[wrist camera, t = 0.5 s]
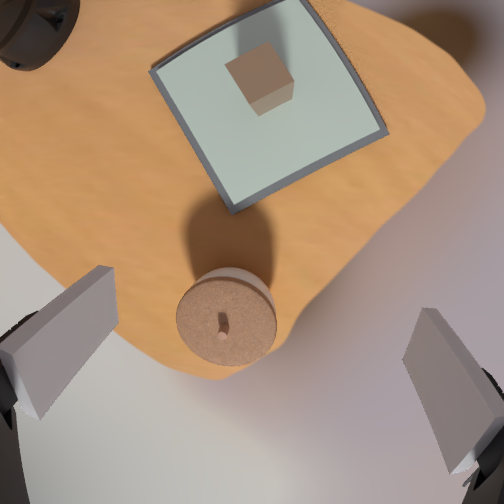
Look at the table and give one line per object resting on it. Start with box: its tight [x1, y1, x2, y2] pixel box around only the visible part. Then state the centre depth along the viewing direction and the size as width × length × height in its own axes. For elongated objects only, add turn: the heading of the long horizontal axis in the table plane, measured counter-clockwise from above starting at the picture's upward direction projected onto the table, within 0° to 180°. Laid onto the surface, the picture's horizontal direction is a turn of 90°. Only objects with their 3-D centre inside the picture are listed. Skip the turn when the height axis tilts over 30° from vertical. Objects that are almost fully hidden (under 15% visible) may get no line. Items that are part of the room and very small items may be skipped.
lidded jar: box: [176, 267, 277, 366], centre depth 35 cm, size 11×11×9 cm
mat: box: [148, 0, 389, 215], centre depth 31 cm, size 20×20×1 cm
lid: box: [156, 0, 380, 204], centre depth 26 cm, size 18×18×10 cm
